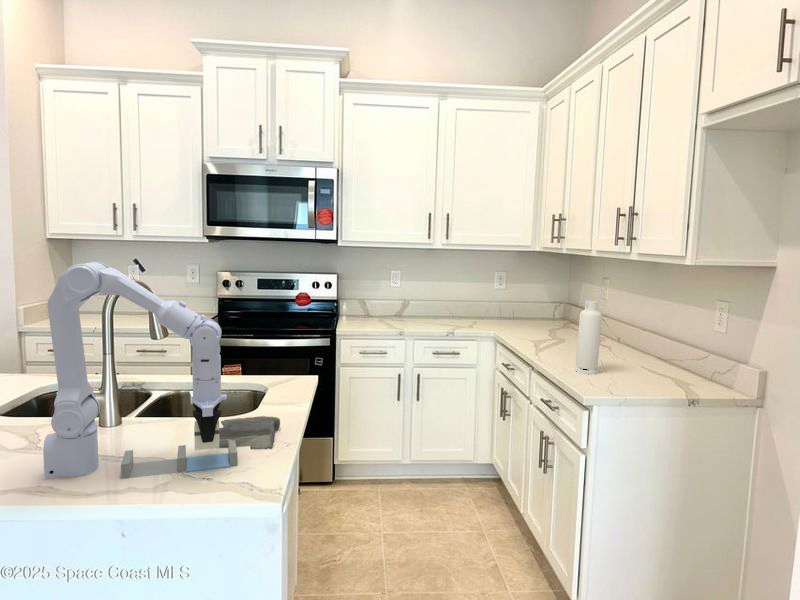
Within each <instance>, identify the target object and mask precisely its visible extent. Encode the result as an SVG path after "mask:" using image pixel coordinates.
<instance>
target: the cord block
mask: <svg viewBox="0 0 800 600" xmlns="http://www.w3.org/2000/svg"><path fill="white" fill-rule="evenodd" d="M219 428H220V420H219V419H218V422H217V425H216V429H215V435H214V439H213V442H206V443H203V442H202V439H201V434H200V429H199V426H198V423H197V421H196V420H194V429H193V432H194V434H193V435H194V436H193V437H194V451H199V450H200V451H204V450H212V449H214V450H215V449H220V447H219V434H220V429H219Z"/></svg>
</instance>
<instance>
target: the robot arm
mask: <svg viewBox="0 0 800 600" xmlns="http://www.w3.org/2000/svg"><path fill="white" fill-rule="evenodd" d="M98 293H99V295H100V296H120V297H122V298H124V299H125V300H127V301H130V302H132V303H134V304H135V305H137V306H139V307H141V308H143V309H144V310H146V311H148V312H150V313H152V314H154V315H155V317H156V321H157V323H158V324H159V325H160V326H162V327H165V328H166V329H168V330H169V331H170V332H172V333H174V334H176V335H178V336H180V337H181V338H183V339H185V340H188V341H189V343H190V345H191V347H192V358H191V359H192V360H191V361H192V362H191V363H192V364H191V365H192V397H191V402H192V403H193V405H192V406H193V407H194V410H193V411H192V413H193V418H194V419H195V421H197V423H198V426H199V429H200V434H201V439H202V442H203V443H206V442H213V439H214V435H215V429H216V425H217V422H218V420H219V419H220V417H221V415H222V409H219V408H220V405H221V401H226V400H227V398H228V397H227V394H224V393H222V377H221V376H222V369H221V368H222V365H221V364H222V362H221V361H222V357H221V354H220V353H221V345H220V340H221V338H222V327H221V326H220V325H219V323H218V322H217V321H215V320H214V319H211V318H207V316H206V315H205V314H201V315H200V314H199V313H197V312H195V311H194V310H191V308H190V307H187V306H186V305H187V303H186V302H185V301H183V300H180V301H177V300H174V299H173V300H168V301H167V300H166V301H165V300H163V299H162V298H160V297H159V296H158V295H156V294H154V293H153V292H151V291H150V290H149V289H147V288H145V287H144V286H142V285H141V284H139V283H138V282H136V281H134V279H132V278H130V277H128V276H127V275H125V274H124V273H122V272H121V271H119V270H118V269H116V268H114V267H109V266H108V265H107V264H105V263H104V262H101V261H97V260H96V261H95V260H93V261H89V262H88V261H87V263H77V264H73V265H71V266H69V267H68V268H66V270H64V271H63V272H62V273H60V274H59V275H58V277H57V282H56V284H55V287H54V288H53V291H52V292H51V294H50V296H49V297H48V298H49V299H48V300H47V312H48V319H49V327H50V335H51V343H52V351H53V358H54V366H55V371H56V380H57V387H58V388H57V389H58V390H57V392H56V397H55V399H54V403H53V406H54V412H53V415H52V417H51V422H50V424H51V428H52V430H53V431H54V433H47V434H46V435H45V437H44V440H43V448H42V449H43V450H42V451H43V471H44V472H43V476H44V477H43V478H44V480H43V482H45V481H46V480H47V479H48V480H49V479H58V478H77V477H82V476H86V475H88V474H92V473H94V472H95V471H97V470H98V469H99V467H100V463H99V438H98V425H97V424H96V422H95V420H96V418H98V416H99V414H100V411H101V404H100V402H99V400H98V399H97V398H96V396H95V394H94V389H93V387H92V385H91V384H89V382H88V381H89V379H88V371H87V365H86V364H87V363H86V357H85V355H86V354H85V348H84V340H83V332H82V324H81V316H80V308H81V307H82V306H83V305H85V303H86V302H87V301H88V300H89V299H91V298H92V297H93V296H95V295H96V294H98ZM51 471H53V472H51Z"/></svg>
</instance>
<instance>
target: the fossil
mask: <svg viewBox="0 0 800 600" xmlns="http://www.w3.org/2000/svg"><path fill="white" fill-rule="evenodd" d="M280 419H281V418H279V417H278V416H276V417H275V416H265V415H260V416H259V415H258V416H251V417H243V418H242V417H238V418H237V417H236V418H230V419H224V420H221V421H220V424H221V425H222V427H219V429H220V434H219V448H228V441H232V440H235V442H236V448H238V447H250V450H267V448H270V449H273V447H274V445H273V443H274V442H275V437H276V436H275V435H276V432H277V431H279V430H280V426H281V420H280Z"/></svg>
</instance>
